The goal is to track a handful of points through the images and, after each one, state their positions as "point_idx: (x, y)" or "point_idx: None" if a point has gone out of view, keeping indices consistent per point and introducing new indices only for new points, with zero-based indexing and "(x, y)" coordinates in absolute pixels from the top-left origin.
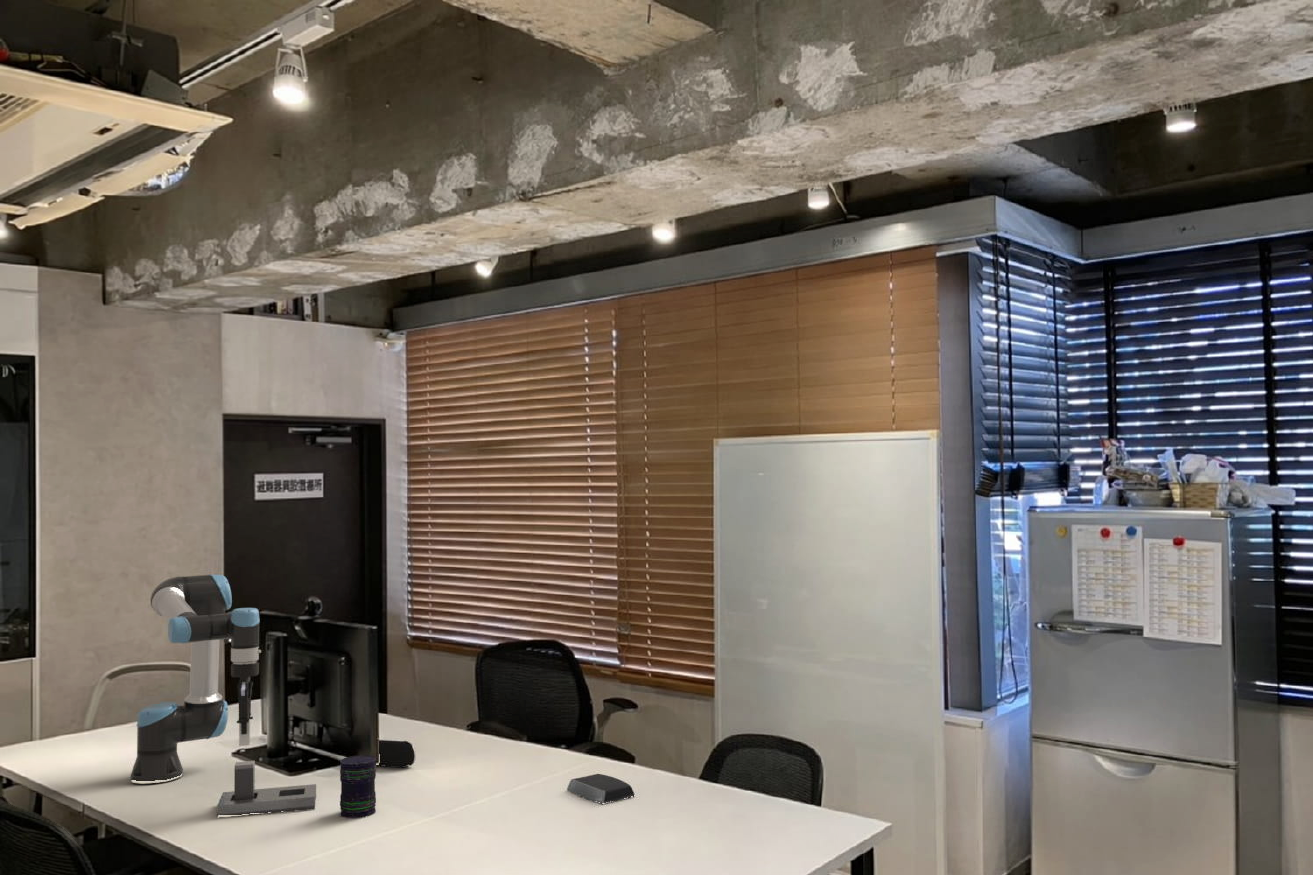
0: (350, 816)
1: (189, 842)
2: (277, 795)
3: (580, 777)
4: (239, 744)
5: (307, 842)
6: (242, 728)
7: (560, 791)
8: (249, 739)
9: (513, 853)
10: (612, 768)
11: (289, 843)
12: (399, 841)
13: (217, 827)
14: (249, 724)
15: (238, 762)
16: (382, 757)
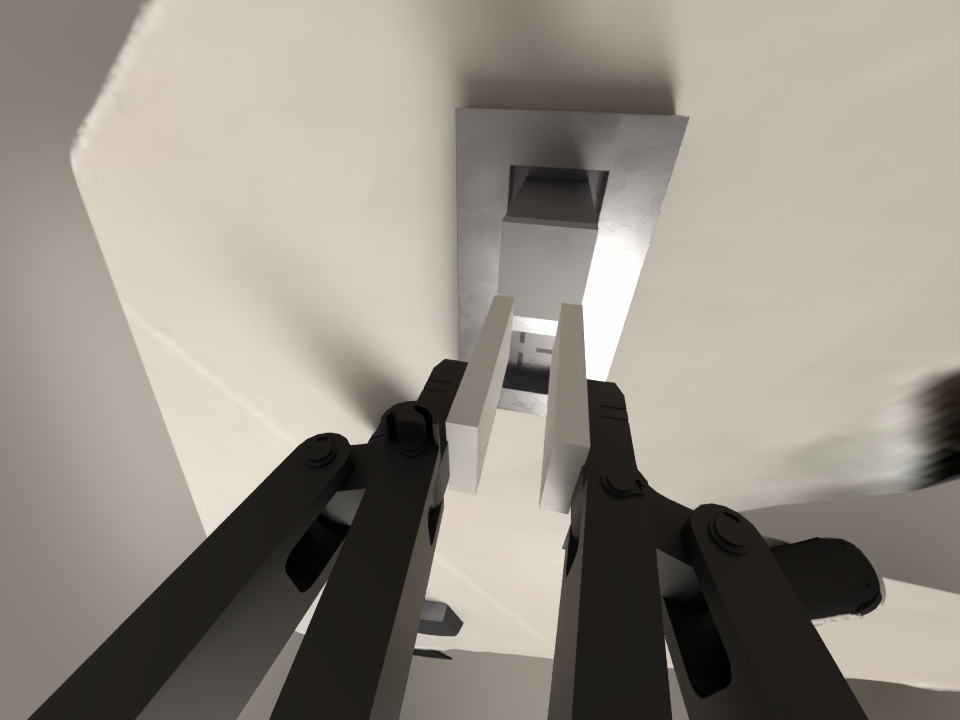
0: (379, 424)
1: (202, 23)
2: (513, 326)
3: (445, 625)
4: (493, 301)
5: (239, 341)
6: (422, 402)
7: (442, 599)
8: (550, 375)
9: (225, 508)
10: (518, 647)
11: (229, 311)
12: (255, 446)
13: (357, 120)
14: (542, 468)
15: (579, 243)
16: (784, 567)
